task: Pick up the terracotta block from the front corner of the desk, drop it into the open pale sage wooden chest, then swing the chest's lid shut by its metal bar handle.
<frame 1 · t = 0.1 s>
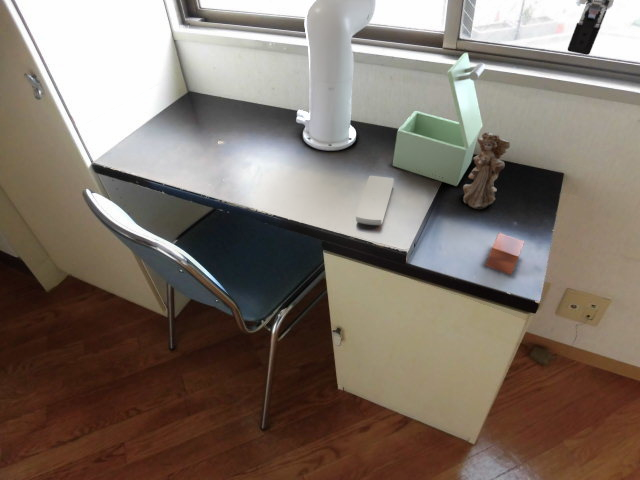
hand: (582, 42, 75), 31 cm above the table, tool pointing down, fingers open, 9 cm apart
block: (501, 262, 83), on the table
chest: (431, 164, 105), on the table
lid: (475, 99, 91), point 17 cm above the table, hinge at 65.0°
figurine: (475, 201, 96), on the table
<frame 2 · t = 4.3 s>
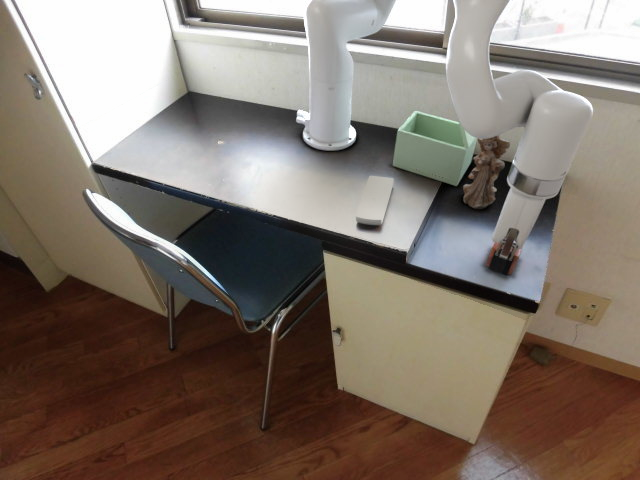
hand: (501, 261, 83), 0 cm above the table, tool pointing down, fingers closed on block, 4 cm apart
block: (501, 262, 83), on the table, touching gripper
everything else where it was.
when the fingers open (10 cm above the table, at t = 13.4 s): block drops 9 cm, resting on chest.
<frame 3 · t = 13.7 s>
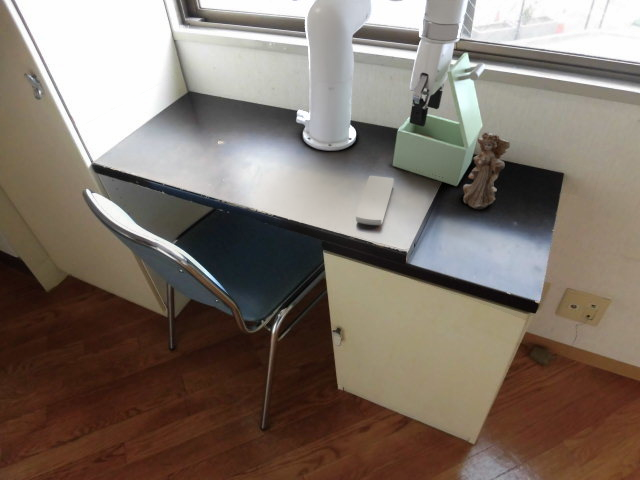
hand: (424, 115, 98), 11 cm above the table, tool pointing down, fingers open, 7 cm apart
block: (417, 156, 105), point 1 cm above the table, touching chest
everything else where it was.
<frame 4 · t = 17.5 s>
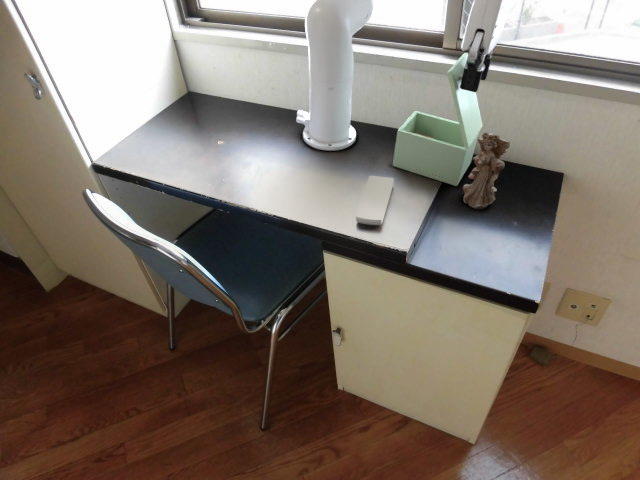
hand: (473, 83, 89), 20 cm above the table, tool pointing down, fingers closed on lid, 5 cm apart
lid: (475, 99, 91), point 17 cm above the table, hinge at 65.0°, touching gripper
everything else where it was.
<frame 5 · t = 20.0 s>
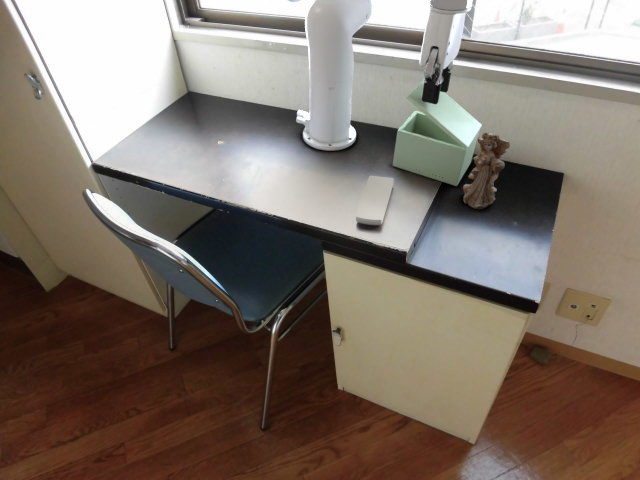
hand: (434, 95, 95), 16 cm above the table, tool pointing down, fingers closed on lid, 5 cm apart
lid: (451, 105, 94), point 14 cm above the table, hinge at 28.1°, touching gripper
everything else where it was.
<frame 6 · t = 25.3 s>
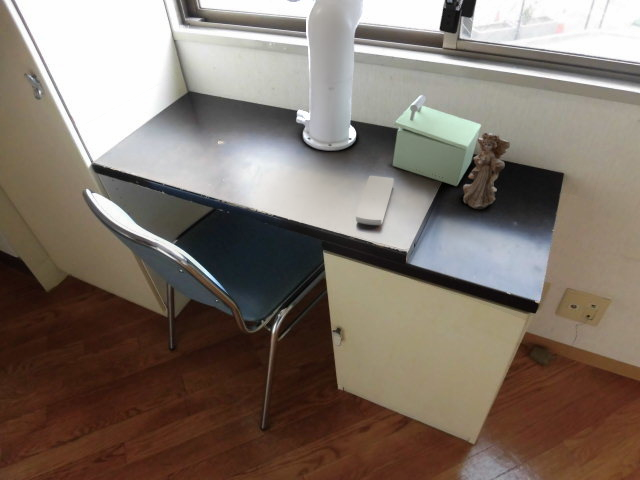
hand: (456, 23, 89), 28 cm above the table, tool pointing down, fingers open, 9 cm apart
lid: (440, 117, 97), point 11 cm above the table, hinge at 3.2°
everything else where it was.
at the end: block inside the target area in the chest (3.5 cm from its centre), point 0.8 cm above the chest's base; lid at +3° (first picture: +65°) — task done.
